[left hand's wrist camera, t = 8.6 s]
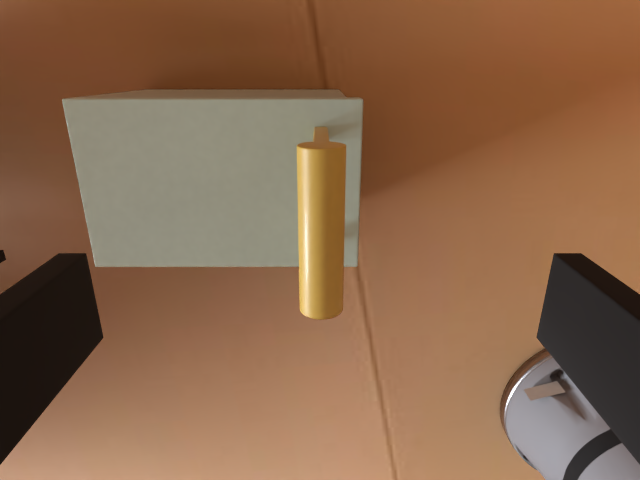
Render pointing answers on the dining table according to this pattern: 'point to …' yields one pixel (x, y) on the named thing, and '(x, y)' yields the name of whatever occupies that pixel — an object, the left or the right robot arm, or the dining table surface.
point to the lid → (223, 184)
